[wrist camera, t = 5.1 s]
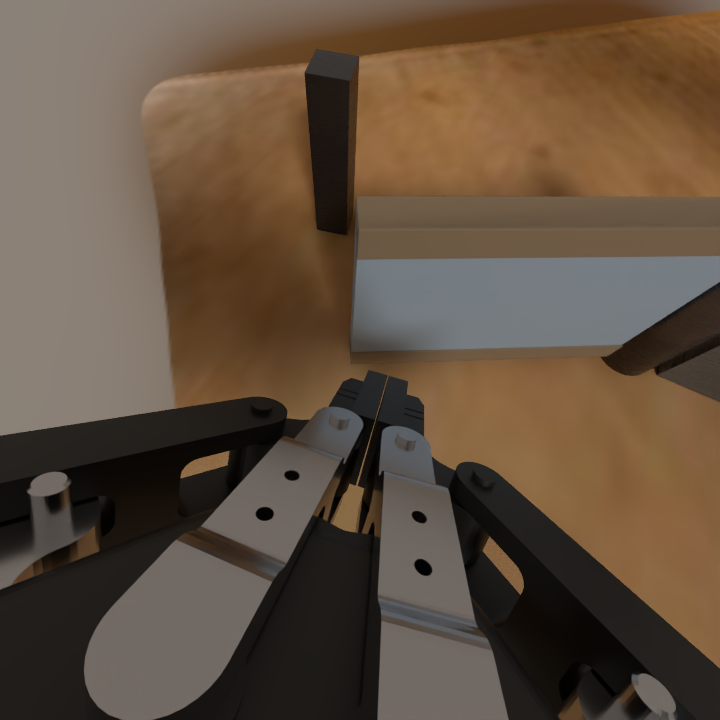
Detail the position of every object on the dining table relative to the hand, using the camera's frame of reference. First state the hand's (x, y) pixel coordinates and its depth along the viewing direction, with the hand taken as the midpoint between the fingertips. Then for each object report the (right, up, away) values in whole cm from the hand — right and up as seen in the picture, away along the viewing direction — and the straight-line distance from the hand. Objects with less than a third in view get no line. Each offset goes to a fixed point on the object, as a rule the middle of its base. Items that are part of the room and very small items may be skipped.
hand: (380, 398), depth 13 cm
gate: (+6, +2, +6) cm, 9 cm away
